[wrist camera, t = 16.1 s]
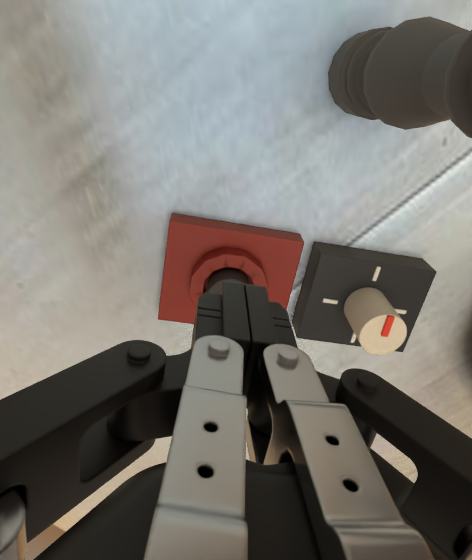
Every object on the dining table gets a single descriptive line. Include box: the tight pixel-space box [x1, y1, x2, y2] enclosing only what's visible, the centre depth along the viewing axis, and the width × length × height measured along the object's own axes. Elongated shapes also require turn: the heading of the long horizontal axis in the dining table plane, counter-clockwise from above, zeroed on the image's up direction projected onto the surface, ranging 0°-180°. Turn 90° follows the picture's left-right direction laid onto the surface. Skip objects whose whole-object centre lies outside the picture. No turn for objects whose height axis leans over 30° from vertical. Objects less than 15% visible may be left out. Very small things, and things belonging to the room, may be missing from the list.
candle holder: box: [329, 17, 472, 138], centre depth 23 cm, size 6×6×25 cm
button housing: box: [158, 213, 304, 324], centre depth 40 cm, size 12×10×4 cm
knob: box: [344, 287, 407, 355], centre depth 38 cm, size 4×4×5 cm
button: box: [206, 269, 251, 294], centre depth 37 cm, size 4×4×2 cm
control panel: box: [292, 242, 436, 352], centre depth 42 cm, size 11×9×3 cm
